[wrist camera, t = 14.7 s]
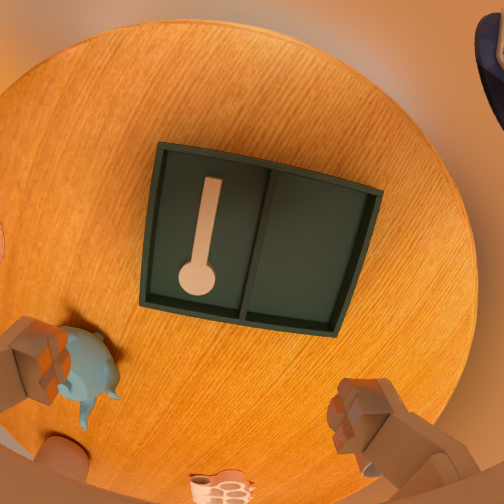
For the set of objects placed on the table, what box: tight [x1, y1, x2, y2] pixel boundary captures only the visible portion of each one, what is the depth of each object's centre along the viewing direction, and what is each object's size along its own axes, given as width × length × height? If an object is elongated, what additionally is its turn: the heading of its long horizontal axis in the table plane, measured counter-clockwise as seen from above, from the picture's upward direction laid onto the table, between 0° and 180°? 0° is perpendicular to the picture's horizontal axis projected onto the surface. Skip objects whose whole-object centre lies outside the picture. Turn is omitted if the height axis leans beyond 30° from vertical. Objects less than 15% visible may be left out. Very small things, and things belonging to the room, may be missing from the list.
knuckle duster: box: [190, 470, 256, 504], centre depth 53 cm, size 3×18×15 cm
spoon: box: [179, 176, 223, 295], centre depth 35 cm, size 14×4×2 cm, turn 168°
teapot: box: [57, 326, 120, 431], centre depth 37 cm, size 13×13×10 cm
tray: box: [139, 142, 384, 338], centre depth 36 cm, size 20×26×3 cm
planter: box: [33, 436, 89, 483], centre depth 45 cm, size 12×12×11 cm
